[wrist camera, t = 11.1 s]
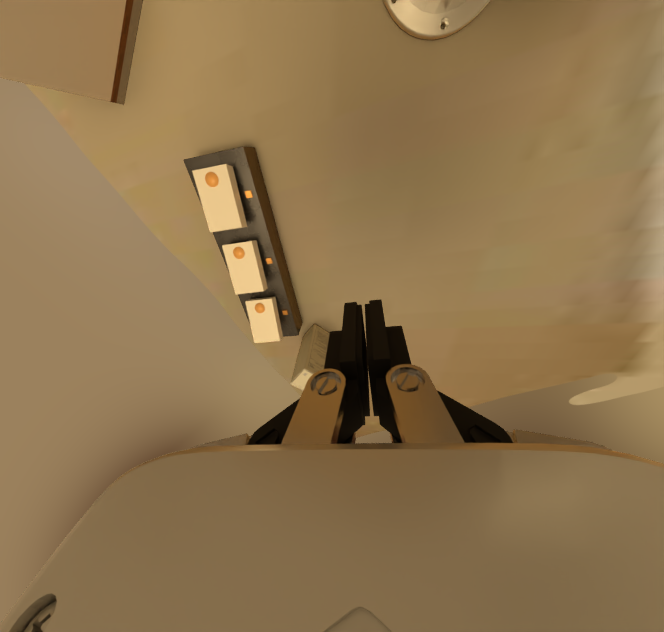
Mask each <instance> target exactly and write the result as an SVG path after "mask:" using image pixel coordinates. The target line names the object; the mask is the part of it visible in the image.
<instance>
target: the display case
mask: <svg viewBox="0 0 664 632" xmlns="http://www.w3.org/2000/svg"><path fill="white" fill-rule="evenodd" d="M142 1H143V0H0V78H3V79H8V80H12V81H17V82H22V83H26V84H31V85H36V86H40V87H45V88H49V89H54V90H59V91H63V92H68V93H73V94H77V95H82V96H86V97H91V98H96V99H100V100H105V101H110V102H114V103H119V104H123V105H124V101H125V95H126V90H127V84H128V79H129V73H130V68H131V62H132V57H133V51H134V46H135V40H136V35H137V29H138V24H139V18H140V13H141V7H142Z"/></svg>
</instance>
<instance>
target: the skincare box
mask: <svg viewBox="0 0 664 632" xmlns="http://www.w3.org/2000/svg"><path fill="white" fill-rule="evenodd" d="M329 335H330V333H328V332H327V331H325V330H324V329H322V328H321V327H319V326H317V325H316V324H314V325H313V326H312V327H311V328H310V329H309V330H308V331H307V333H306V334H305V335H304V336H303V338H302V342H301V346H300V349H299V353H298V357H297V360H296V364H295V368H294V372H293V376H292V379H291V385H293V386H295V387H297V388H299V389H300V390H302V391H303V390H304V388H305V385H306V383H307V381H308V379H309V378H310V376H312V375H313V374H314V373H315V372H317V371H319V370H323V369H324V365H325V359H326V353H327V347H328V341H329Z"/></svg>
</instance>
